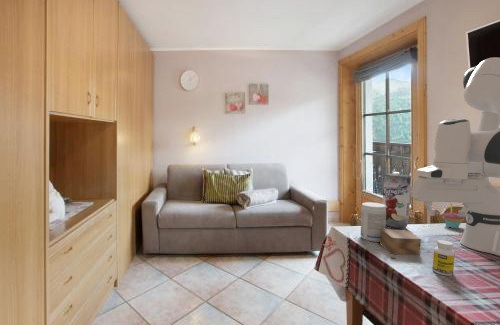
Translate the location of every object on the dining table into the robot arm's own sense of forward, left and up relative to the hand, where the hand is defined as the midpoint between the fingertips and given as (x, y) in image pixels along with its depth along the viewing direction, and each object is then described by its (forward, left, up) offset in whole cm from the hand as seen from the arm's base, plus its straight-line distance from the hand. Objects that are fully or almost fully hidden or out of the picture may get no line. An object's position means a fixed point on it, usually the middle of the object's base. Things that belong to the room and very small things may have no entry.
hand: (446, 216), depth 85 cm
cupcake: (-35, -50, -18) cm, 64 cm away
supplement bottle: (0, 0, -18) cm, 18 cm away
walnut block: (+5, -18, -18) cm, 26 cm away
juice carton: (-6, -46, -18) cm, 50 cm away
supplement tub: (+11, -29, -18) cm, 36 cm away
